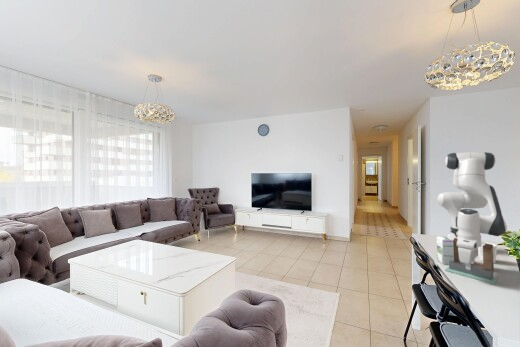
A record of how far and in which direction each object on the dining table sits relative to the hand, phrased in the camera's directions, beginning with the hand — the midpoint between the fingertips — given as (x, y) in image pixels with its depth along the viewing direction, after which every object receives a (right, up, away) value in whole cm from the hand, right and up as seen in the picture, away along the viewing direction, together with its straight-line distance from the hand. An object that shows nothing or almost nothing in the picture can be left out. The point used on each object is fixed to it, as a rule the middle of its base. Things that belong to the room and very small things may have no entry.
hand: (469, 267), depth 112 cm
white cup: (+26, -3, +16) cm, 31 cm away
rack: (+12, -3, +11) cm, 16 cm away
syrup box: (0, -4, +15) cm, 15 cm away
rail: (0, -3, 0) cm, 3 cm away
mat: (0, -3, 0) cm, 3 cm away
